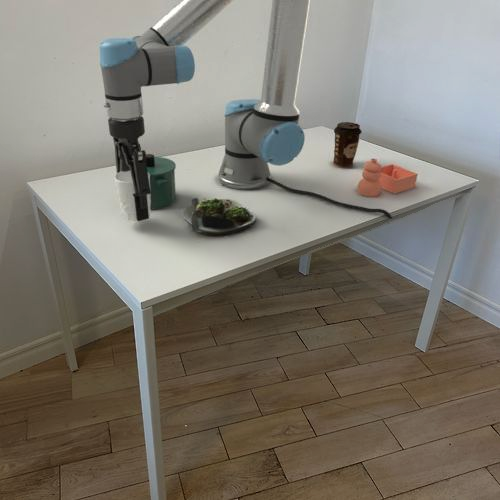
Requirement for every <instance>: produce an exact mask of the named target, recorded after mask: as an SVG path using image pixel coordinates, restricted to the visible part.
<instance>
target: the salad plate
mask: <svg viewBox="0 0 500 500" xmlns="http://www.w3.org/2000/svg"><path fill="white" fill-rule="evenodd" d="M181 216H182V217H183V219H184V220H185V221H186V222H187V223H188V224H189V225H190V226H191V230H192V231H194V232H195V233H200V234H201V235H204V236H207V237H216V238H217V237H226V236H230V235H234V234H240V233H243V232H245V231H247V230H249V229H250V228H252V227H253V226H254V225H255V224H256V222H257V214H256V213H255V212H254V211H253V210H251V209H249V208H248V207H246V206H244V205H243V204H242V203H240V202H238V201H237V200H234V199H228V198H219V199H218V198H211V199H206V198H205V197H204V198H202V200H201V202H200V200H199V198H197V197H193V198H191V205H189V206H187V207H185V208H183V210H182V211H181Z"/></svg>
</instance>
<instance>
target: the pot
mask: <svg viewBox="0 0 500 500" xmlns="http://www.w3.org/2000/svg"><path fill="white" fill-rule="evenodd" d="M175 174H176V173H175V170H174V171H173V172H171V173H169V174H166V175H162V176H157V177H150V191H151V204H150V206H151V210H159V209H164V208H167V207H169V206H171V205H173V204H175V202H176V199H177V196H176V195H177V194H176V177H175V176H176V175H175Z"/></svg>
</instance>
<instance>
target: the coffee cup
mask: <svg viewBox="0 0 500 500" xmlns="http://www.w3.org/2000/svg"><path fill="white" fill-rule="evenodd" d="M360 127H361V125H360V124H359V123H354V122H350V121H344V122H338V123H337V125H336V126H335V128H334V129H333V132H334V149H333V161H332V164H333V165H334V166H335V167H338V168H344V169H345V168H347V169H348V168H351V167H353V165H354V160H355V157H356V155H357V151H358V150H357V149H358V147H359V142H360V135H361V134H362V129H361V128H360Z"/></svg>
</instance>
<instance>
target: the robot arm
mask: <svg viewBox="0 0 500 500" xmlns="http://www.w3.org/2000/svg"><path fill="white" fill-rule="evenodd" d="M233 1H234V0H179V2H177V3H176V4H175V5H174V6H173V7H172V8H171V9H170V10H168V12H167V13H166V14H164V15H163V16H162V17H161V18H160V19H159V20H157V22H155V23H154V24H153V25H152V26H151V27H149V29H147V30H145V32H144V33H143V34H141V35H136V36H132V37H129V38H127V37H112V38H106V39H103V40H102V41H100V43H99V49H98V50H99V61H100V63H99V66H100V69H101V76H102V82H103V89H104V97H105V103H103V107H104V109H106V112H107V114H106V115H107V117H108V119H107V123H108V130H109V135H110V136H111V137H112V140H113V144H114V154H115V155H114V156H115V170H116V174H117V173H119V172H121V171H122V172H127V171H130V172H131V176H132V180H133V185H134V189H135V194H133V197H134V199H135V208H136V217H137V221H136V222H140V221H144V220H148V219H150V216H149V213H148V203H147V195H148V194H151V191H150V185H149V178H148V172H147V165H146V154H147V151H146V150H145V149H142V147H141V144H140V143H139V138H141V137H143V136H144V135H145V132H146V127H145V117H143V115H144V104H143V95H142V88H143V87H151V86H161V85H172V84H177V85H179V84H181V83H182V84H183V83H186V82H190V81H192V79H194V76H195V71H196V63H195V57H194V54H193V52H192V50H191V49H190V48H189V47H188V46H187V45H185V44H186V43H187V42H188V41H190V40H191V39H193V37H194V36H196V34H197V33H199V32H200V31H201V30H202V29H203V28H204V27H205V26H206V25H208V24H209V23H210V22H211V21H212V20H213V19H214V18H215V17H216V16H218V15H219V14H220V13H221V12H223V10H224V9H226V8H227V7H228V6H229V5H230V4H231V3H232V2H233ZM310 4H311V0H272V2H271V8H270V9H271V10H270V17H269V27H268V36H267V43H266V52H265V60H264V70H263V77H262V87H261V95H260V99H257V98H256V99H254V98H253V99H251V98H250V99H246V98H245V99H236V100H231V101H229V102H227V104H226V105H225V110H224V155H223V159H222V162H221V165H220V167H219V171H218V182H219V183H220V184H221V185H223V186H225V187H228V188H230V189H235V190H243V191H244V190H246V191H248V190H249V191H251V190H258V189H261V188H264V187H266V186H268V185H269V184H270V183H272V184H273V185H275V186H277V187H279V188H281V189H283V190H285V191H288V192H290V193H295V194H301V195H307V196H311V197H314V198H318V199H320V200H324V201H325V202H328V203H330V204H333V205H336V206H339V207H343V208H348V209H353V210H357V211H361V212H367V213H379V214H383V215H385V216H386V217H387V218H388V219H393V216H392V215H391V213H390V212H389V211H387V210H386V209H384V208H383V209H382V208H370V207H365V206H359V205H354V204H349V203H345V202H342V201H338V200H335V199H332V198H329V197H327V196H324V195H322V194H320V193H316V192H312V191H307V190H300V189H296V188H292V187H288V186H287V185H284V184H282V183H281V182H279V181H277V180H274V179H272V178H271V175H272V174H271V170H270V167H269V164H271V165H273V166H284V165H288V164H290V163H291V162H292V161H294V159H296V158H297V157H298V156H299V155H300V154H301V152H302V150H303V148H304V145H305V132H304V130H303V129H302V127H301V125H300V124H299V119H300V114H301V113H300V112H301V111H300V110H299V108H298V107H297V106H296V99H297V92H298V85H299V79H300V71H301V67H302V65H301V64H302V58H303V51H304V45H305V38H306V32H307V31H306V30H307V25H308V17H309V11H310ZM132 160H133V161H132Z"/></svg>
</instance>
